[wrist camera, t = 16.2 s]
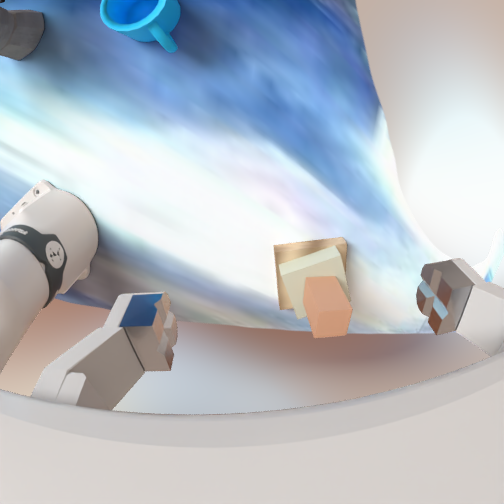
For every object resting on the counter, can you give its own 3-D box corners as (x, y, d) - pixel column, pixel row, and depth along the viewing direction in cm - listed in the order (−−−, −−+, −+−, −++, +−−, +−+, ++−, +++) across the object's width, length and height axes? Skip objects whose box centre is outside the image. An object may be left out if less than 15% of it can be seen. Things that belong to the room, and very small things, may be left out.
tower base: (278, 299, 53) (280, 309, 50) (273, 243, 47) (275, 252, 45) (339, 290, 52) (343, 300, 50) (341, 234, 47) (346, 243, 44)
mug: (114, 15, 28) (89, 2, 21) (163, -18, 27) (147, -39, 20) (154, 73, 34) (135, 68, 26) (206, 39, 32) (198, 26, 25)
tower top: (294, 307, 50) (297, 319, 47) (278, 264, 46) (280, 275, 43) (345, 290, 49) (351, 301, 46) (335, 245, 45) (340, 255, 42)
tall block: (302, 302, 45) (314, 338, 38) (305, 277, 43) (318, 311, 36) (330, 300, 46) (346, 335, 39) (335, 275, 44) (352, 309, 36)
